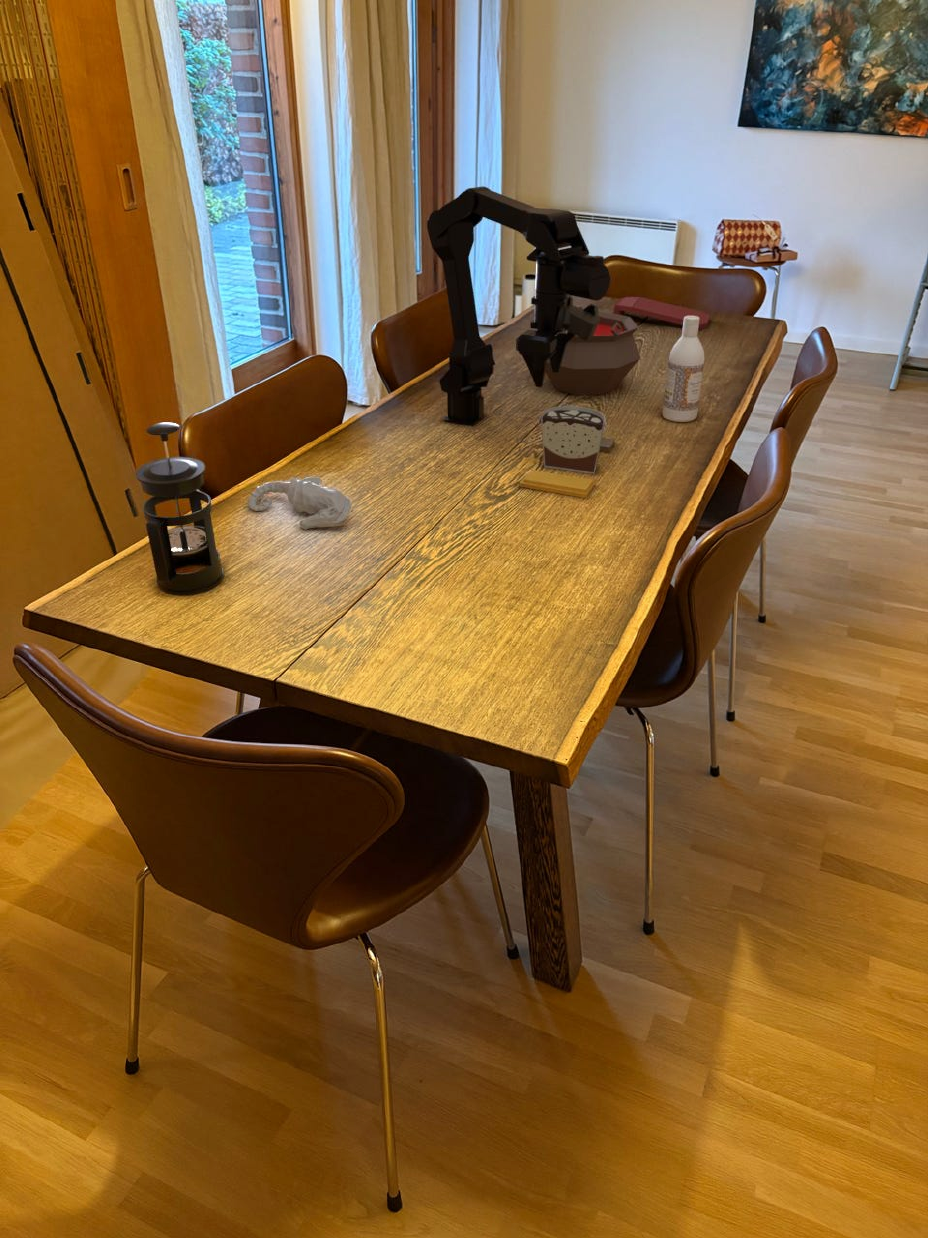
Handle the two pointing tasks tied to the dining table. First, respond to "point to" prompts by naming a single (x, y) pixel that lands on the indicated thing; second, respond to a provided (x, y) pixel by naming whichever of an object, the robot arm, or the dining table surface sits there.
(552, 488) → the yellow brown rectangular slab
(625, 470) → the dining table surface
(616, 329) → the brown faceted pot
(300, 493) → the seahorse
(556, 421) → the food container
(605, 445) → the silver flat block
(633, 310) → the dark red bevelled block
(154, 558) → the french press
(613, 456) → the dining table surface
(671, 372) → the bath foam
